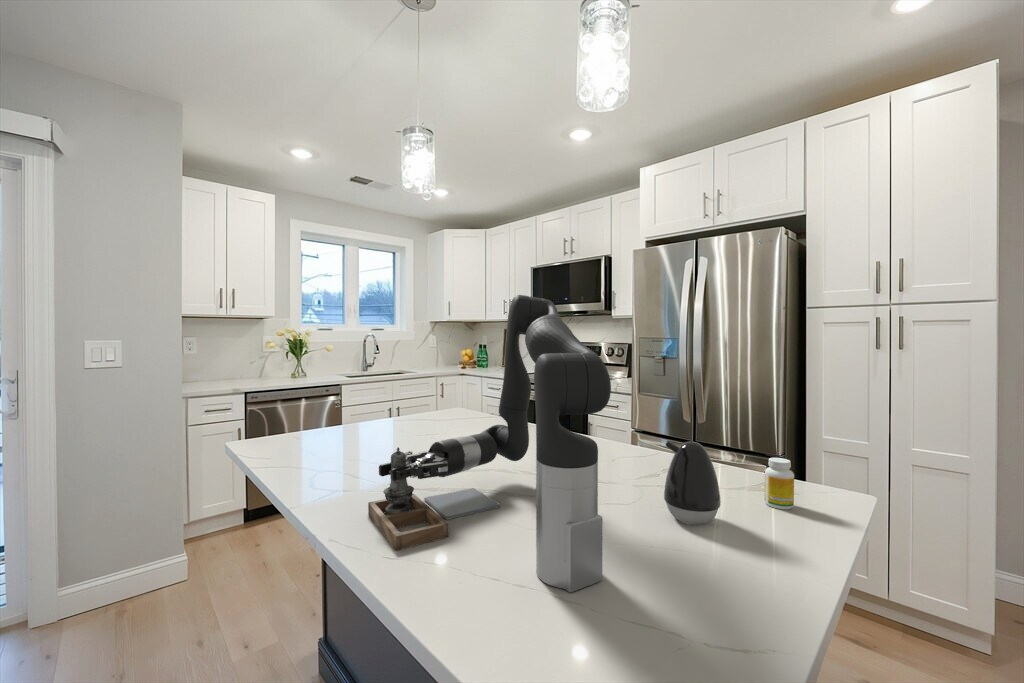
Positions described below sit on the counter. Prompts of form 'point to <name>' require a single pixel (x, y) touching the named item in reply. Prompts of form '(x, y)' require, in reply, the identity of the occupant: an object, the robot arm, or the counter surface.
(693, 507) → the pump dispenser
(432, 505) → the slate tile
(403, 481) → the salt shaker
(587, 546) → the robot arm
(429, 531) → the spice caddy
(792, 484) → the supplement bottle
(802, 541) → the counter surface
